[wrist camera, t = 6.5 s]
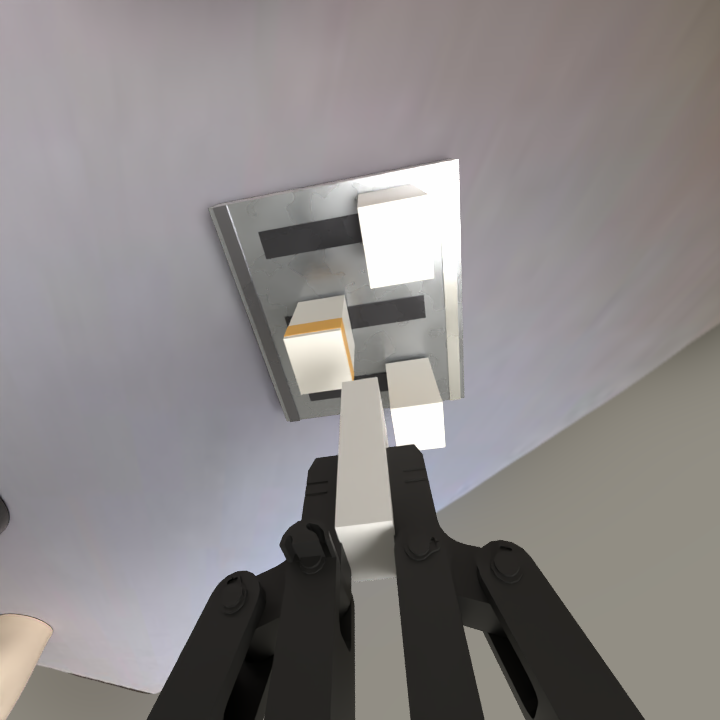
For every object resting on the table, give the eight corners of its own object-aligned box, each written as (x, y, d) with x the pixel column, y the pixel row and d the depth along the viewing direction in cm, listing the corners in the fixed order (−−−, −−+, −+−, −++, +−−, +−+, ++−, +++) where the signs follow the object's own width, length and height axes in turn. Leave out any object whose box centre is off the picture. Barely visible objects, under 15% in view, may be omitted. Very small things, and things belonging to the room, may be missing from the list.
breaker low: (391, 403, 26) (397, 452, 22) (385, 363, 25) (390, 409, 20) (431, 398, 26) (445, 446, 22) (428, 357, 24) (442, 402, 20)
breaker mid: (311, 351, 24) (300, 394, 20) (297, 302, 22) (282, 338, 18) (355, 344, 24) (353, 387, 20) (344, 294, 22) (340, 329, 18)
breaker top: (368, 259, 21) (370, 288, 17) (358, 194, 19) (357, 208, 15) (419, 250, 21) (434, 278, 16) (413, 183, 19) (428, 194, 14)
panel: (291, 405, 30) (286, 422, 28) (220, 203, 21) (207, 208, 20) (458, 382, 28) (464, 398, 27) (450, 158, 20) (458, 159, 18)
